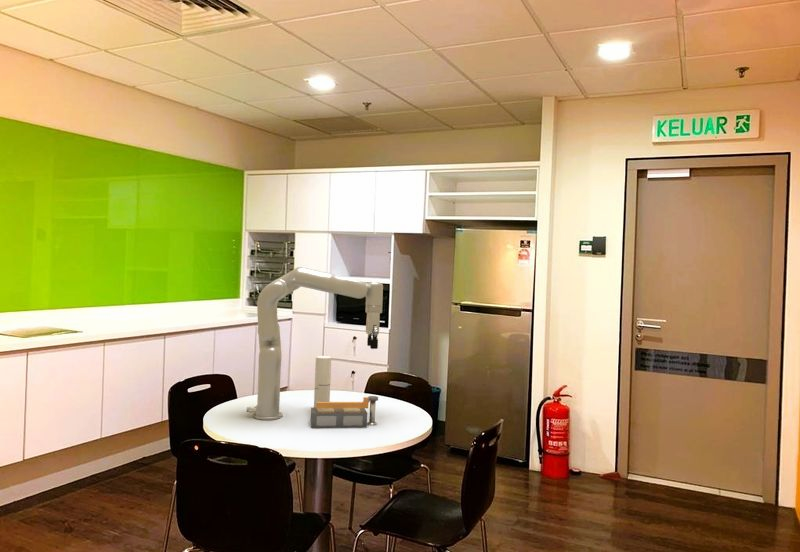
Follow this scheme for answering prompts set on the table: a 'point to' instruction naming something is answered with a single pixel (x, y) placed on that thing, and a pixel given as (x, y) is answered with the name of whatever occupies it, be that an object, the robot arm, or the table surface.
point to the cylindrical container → (322, 379)
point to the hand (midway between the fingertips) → (372, 347)
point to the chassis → (338, 418)
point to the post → (372, 413)
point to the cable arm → (346, 404)
